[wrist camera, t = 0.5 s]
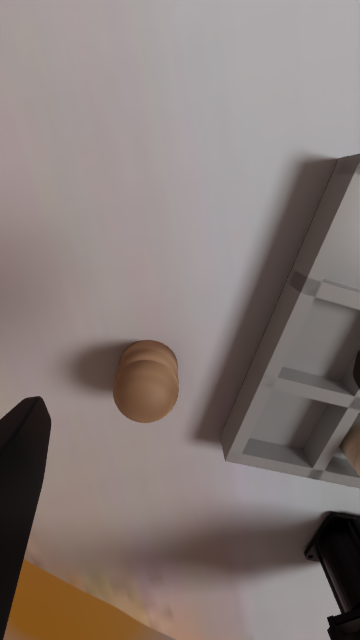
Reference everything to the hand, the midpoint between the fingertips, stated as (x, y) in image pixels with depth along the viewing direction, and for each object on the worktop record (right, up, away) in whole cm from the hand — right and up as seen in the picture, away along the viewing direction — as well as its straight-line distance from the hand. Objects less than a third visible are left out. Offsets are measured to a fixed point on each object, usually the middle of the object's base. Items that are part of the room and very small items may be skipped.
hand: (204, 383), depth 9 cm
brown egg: (-3, -2, +15) cm, 15 cm away
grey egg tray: (+13, 0, +15) cm, 20 cm away
